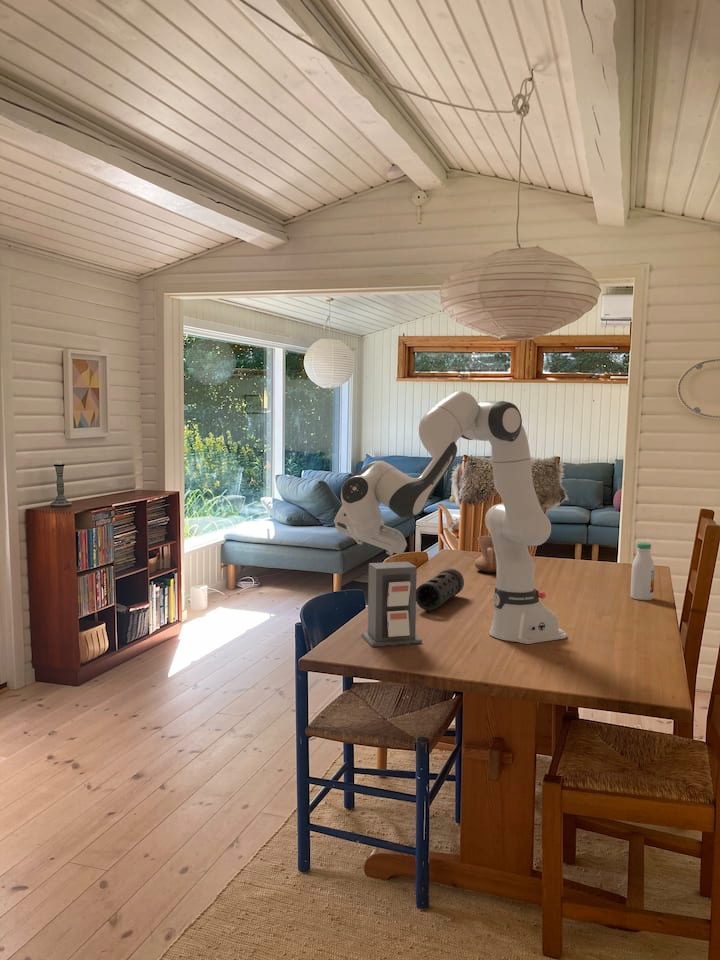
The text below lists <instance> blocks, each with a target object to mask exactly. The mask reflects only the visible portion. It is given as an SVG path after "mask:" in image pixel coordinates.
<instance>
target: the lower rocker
mask: <svg viewBox="0 0 720 960" xmlns="http://www.w3.org/2000/svg"><path fill="white" fill-rule="evenodd" d="M409 624H410V622H409V615H408V610H405V611H388V612H387V626H388V637H394V636H408V635H410V631H409Z"/></svg>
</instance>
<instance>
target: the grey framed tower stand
mask: <svg viewBox="0 0 720 960" xmlns="http://www.w3.org/2000/svg"><path fill="white" fill-rule="evenodd" d="M417 575H418V574H417V566H416V565H414V564H412V563H411V562H409V561H395V562H394V561H389V562H388V561H387V562H370V563H368V583H367V585H368V588H367V589H368V595H367V597H368V598H367V600H368V601H367V604H368V605H367V606H368V607H367V631H364V632H361V637H362V636H363V637H362V638H363V639H364V640H365V641H366V642H367V643H368V645H371V646H377V647H386V646H385V645H391V646H399V645H398V644H405V645H411V644H410V643H419V644H423V639H422V638H421V637H419V635H417V634H416V628H417V627H416V624H417V623H416V622H417V618H416V617H417V602H416V590H417ZM407 581H409V582H410V583H411V585H410V595H409V603H408V605H406V606H389V607H388V606H387V598H388V596H387V593H388V588H389V582H407ZM405 610H408V615H409V622H410V624H409V631H410V635H408V636H394V637H388V626H387V612H388V611H405ZM371 646H370V647H371Z"/></svg>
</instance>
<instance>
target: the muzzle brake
mask: <svg viewBox="0 0 720 960" xmlns="http://www.w3.org/2000/svg"><path fill="white" fill-rule="evenodd" d="M464 586H465V580H464V576H463V575H462V573H461V572H460V571H459V570H457V569H455V568H446V569H444V570H442V571H441V572H440V573H438V574H437V575H435V576H433V578H431V579H429V580H427V581H425V582H424V583H422V584H421V585H419V586H418V587H416V605H418V606H419V608H421V609H422V610H424V611H426V613H428V612H429V613H432V612H433V611H435V610H436V609H437V608H439V607H440V606H442V605H443V604H444V603H445V602H448V601H449V600H450V599H451V598H453V597H455V596H457V595H458V594H459V593H461V591H463V588H464ZM447 600H448V601H447ZM431 611H432V612H431Z"/></svg>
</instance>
